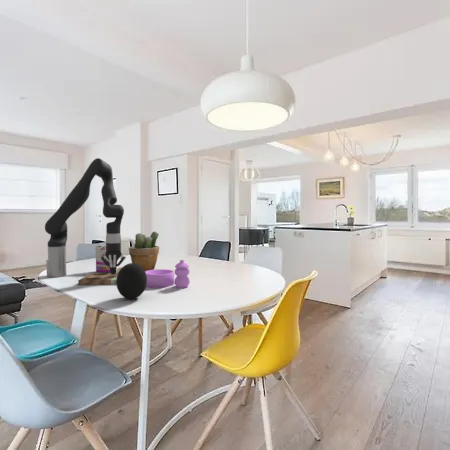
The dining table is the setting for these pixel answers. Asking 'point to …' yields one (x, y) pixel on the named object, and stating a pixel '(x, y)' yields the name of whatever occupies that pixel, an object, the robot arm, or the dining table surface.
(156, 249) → the potted plant
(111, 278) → the board
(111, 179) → the robot arm
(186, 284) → the container set
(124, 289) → the decorative egg
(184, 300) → the dining table surface
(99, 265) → the candy bar box
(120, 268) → the block
